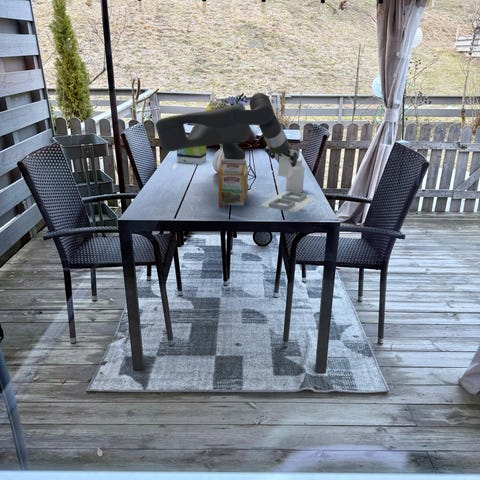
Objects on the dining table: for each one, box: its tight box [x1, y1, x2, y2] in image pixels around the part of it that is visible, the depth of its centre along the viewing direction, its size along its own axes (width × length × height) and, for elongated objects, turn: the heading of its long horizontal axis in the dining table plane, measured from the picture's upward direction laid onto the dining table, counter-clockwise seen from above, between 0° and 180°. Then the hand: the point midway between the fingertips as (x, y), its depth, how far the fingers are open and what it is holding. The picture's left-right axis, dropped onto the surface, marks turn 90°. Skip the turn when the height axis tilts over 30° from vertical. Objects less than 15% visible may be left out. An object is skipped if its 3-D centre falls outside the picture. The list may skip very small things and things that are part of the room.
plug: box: [277, 156, 294, 178], centre depth 167 cm, size 4×5×10 cm
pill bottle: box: [285, 157, 305, 193], centre depth 193 cm, size 8×8×15 cm
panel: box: [259, 191, 316, 213], centre depth 177 cm, size 21×16×3 cm
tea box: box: [176, 134, 207, 165], centre depth 245 cm, size 15×10×15 cm, turn 73°
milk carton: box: [217, 158, 249, 208], centre depth 175 cm, size 11×11×19 cm
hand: (288, 164), depth 168 cm, fingers closed on plug, 5 cm apart
